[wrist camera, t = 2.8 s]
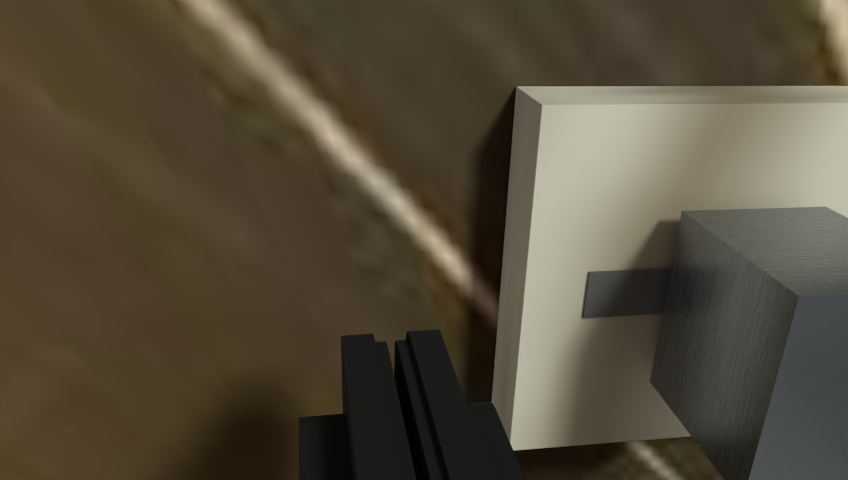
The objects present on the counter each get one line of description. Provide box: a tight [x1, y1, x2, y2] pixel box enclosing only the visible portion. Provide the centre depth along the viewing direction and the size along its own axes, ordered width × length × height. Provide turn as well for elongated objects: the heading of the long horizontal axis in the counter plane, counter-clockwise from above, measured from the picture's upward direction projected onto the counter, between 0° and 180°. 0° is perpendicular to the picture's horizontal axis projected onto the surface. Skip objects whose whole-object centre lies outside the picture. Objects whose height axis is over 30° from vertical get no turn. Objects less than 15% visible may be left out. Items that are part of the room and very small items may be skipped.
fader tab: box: [650, 207, 848, 480], centre depth 14 cm, size 4×4×4 cm
